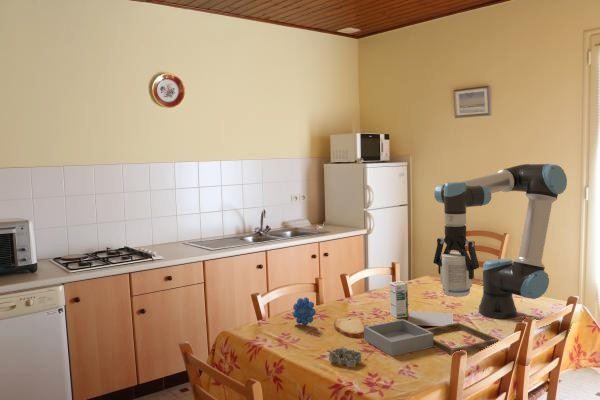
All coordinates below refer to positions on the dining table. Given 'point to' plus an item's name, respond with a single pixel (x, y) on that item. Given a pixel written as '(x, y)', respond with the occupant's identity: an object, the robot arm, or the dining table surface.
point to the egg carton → (345, 356)
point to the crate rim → (471, 347)
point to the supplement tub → (454, 275)
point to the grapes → (304, 311)
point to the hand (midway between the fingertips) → (455, 285)
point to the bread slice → (350, 327)
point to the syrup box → (398, 299)
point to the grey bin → (398, 337)
